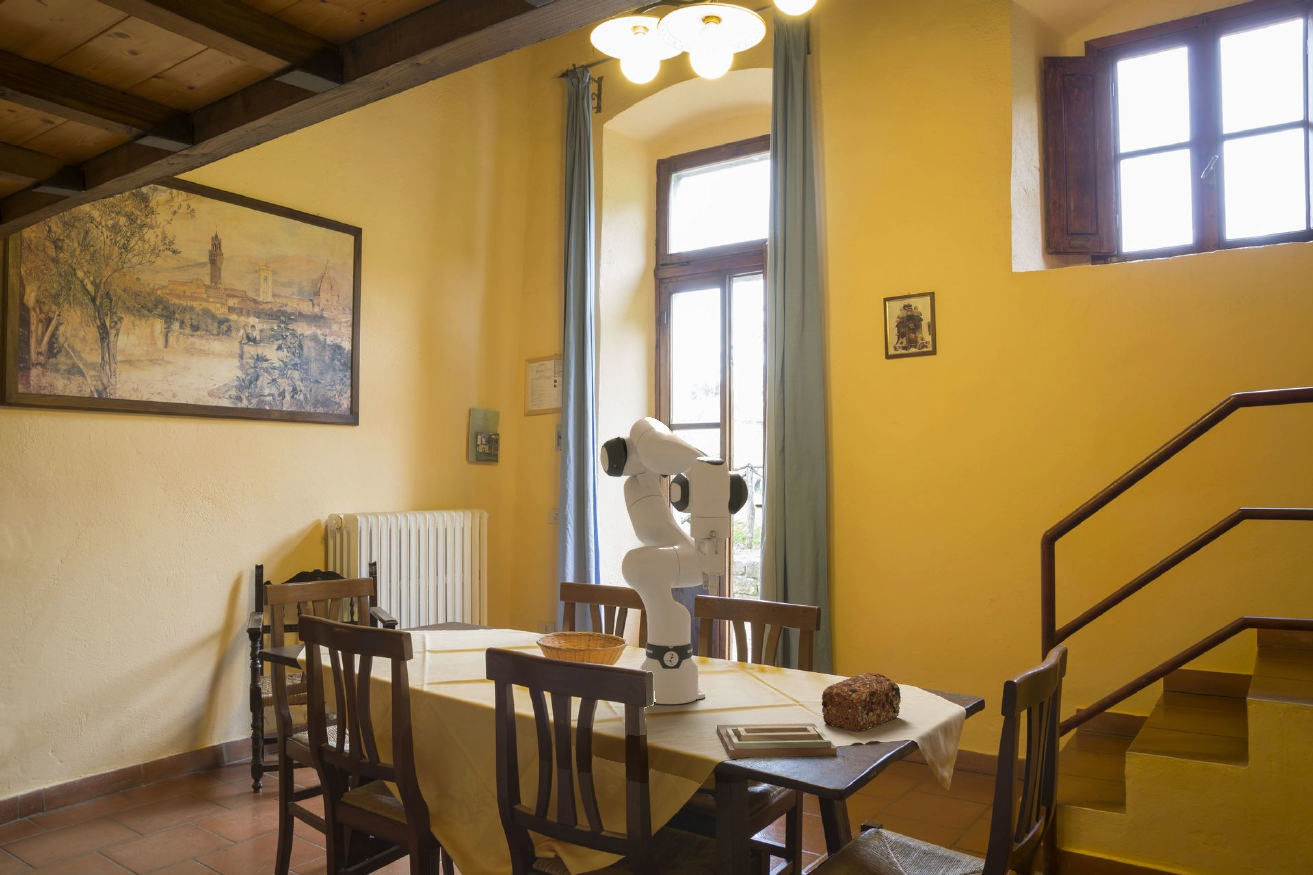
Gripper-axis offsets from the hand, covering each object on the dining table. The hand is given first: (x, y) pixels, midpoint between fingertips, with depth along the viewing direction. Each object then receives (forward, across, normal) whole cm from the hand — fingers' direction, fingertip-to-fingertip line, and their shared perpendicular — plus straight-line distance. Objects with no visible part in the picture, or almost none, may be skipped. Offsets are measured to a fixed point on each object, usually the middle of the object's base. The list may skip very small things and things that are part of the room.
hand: (709, 592), depth 194 cm
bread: (+32, +9, -37) cm, 50 cm away
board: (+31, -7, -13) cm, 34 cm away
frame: (+30, -10, -13) cm, 34 cm away
